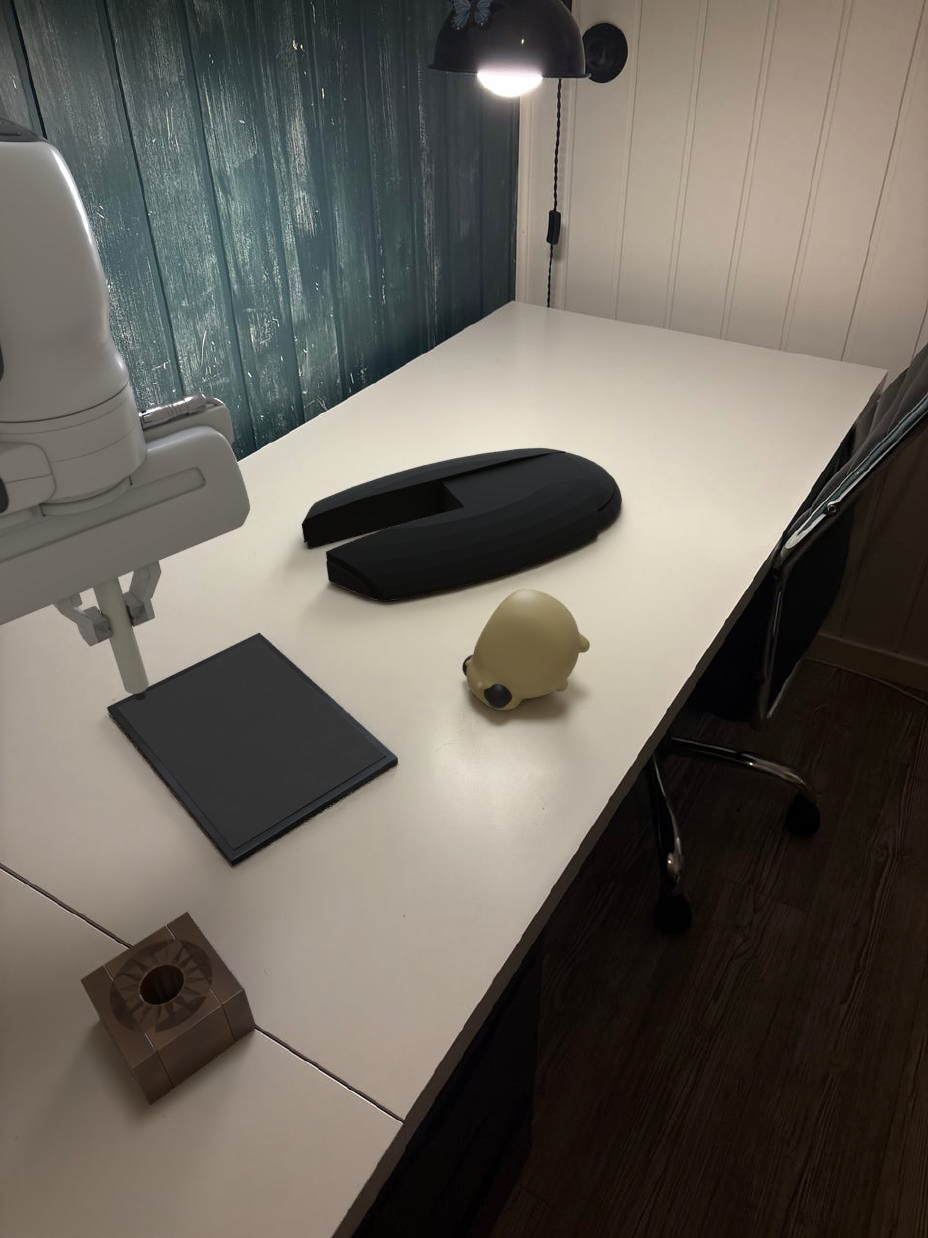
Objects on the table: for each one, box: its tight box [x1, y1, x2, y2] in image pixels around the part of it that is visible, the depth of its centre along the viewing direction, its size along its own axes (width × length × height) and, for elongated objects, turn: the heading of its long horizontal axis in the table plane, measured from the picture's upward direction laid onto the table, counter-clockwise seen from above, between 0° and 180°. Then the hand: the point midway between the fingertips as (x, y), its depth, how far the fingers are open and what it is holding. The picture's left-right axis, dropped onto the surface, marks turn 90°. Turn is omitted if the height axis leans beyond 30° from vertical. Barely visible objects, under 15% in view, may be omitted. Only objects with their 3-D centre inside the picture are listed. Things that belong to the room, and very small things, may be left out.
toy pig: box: [461, 588, 591, 711], centre depth 88 cm, size 10×12×11 cm
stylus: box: [92, 577, 150, 701], centre depth 59 cm, size 2×2×14 cm
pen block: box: [80, 911, 257, 1106], centre depth 63 cm, size 8×8×5 cm
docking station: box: [301, 447, 623, 602], centre depth 113 cm, size 25×40×5 cm, turn 116°
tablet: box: [106, 632, 399, 867], centre depth 86 cm, size 17×24×1 cm
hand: (118, 628), depth 60 cm, fingers closed on stylus, 2 cm apart
